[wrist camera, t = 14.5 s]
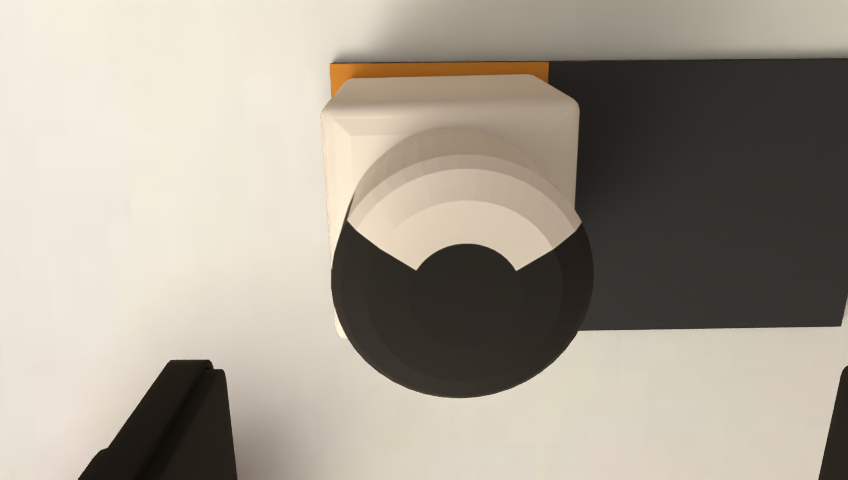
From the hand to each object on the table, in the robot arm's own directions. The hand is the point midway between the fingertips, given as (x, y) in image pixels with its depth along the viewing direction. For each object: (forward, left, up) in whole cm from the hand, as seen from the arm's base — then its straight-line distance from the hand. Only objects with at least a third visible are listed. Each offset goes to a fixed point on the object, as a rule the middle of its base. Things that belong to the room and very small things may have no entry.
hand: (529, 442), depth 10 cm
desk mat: (-6, +1, -18) cm, 19 cm away
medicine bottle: (+1, 0, -17) cm, 17 cm away
